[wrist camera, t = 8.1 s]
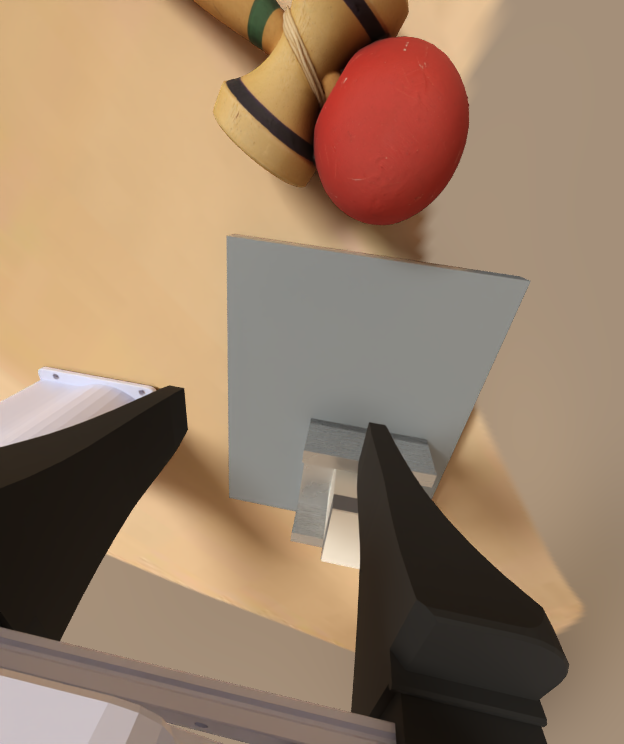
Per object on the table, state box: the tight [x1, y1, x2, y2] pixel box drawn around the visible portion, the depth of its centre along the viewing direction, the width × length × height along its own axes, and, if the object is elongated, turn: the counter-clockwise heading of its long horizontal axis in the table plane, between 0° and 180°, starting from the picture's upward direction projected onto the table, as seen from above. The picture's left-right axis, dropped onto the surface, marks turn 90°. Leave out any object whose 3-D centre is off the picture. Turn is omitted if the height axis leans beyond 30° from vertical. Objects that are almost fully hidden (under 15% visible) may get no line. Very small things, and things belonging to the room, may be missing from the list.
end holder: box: [291, 418, 437, 547], centre depth 22 cm, size 8×9×3 cm
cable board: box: [227, 234, 530, 511], centre depth 22 cm, size 16×21×1 cm
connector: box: [321, 469, 360, 569], centre depth 21 cm, size 4×5×5 cm
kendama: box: [193, 0, 469, 225], centre depth 12 cm, size 8×6×18 cm
